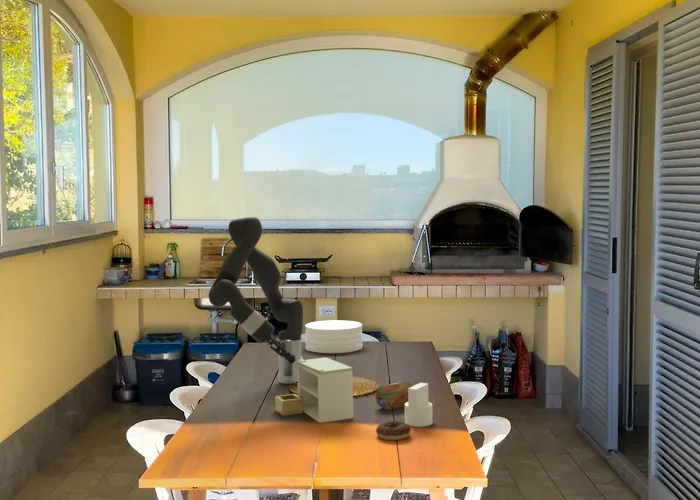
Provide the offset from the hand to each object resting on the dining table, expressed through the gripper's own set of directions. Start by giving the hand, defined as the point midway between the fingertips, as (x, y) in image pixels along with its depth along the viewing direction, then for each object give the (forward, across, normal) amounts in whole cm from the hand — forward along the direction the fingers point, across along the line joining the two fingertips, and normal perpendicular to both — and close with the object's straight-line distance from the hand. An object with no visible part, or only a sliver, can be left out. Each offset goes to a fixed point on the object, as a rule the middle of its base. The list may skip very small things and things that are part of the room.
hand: (293, 360), depth 259 cm
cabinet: (+20, -3, +5) cm, 21 cm away
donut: (+34, -31, -8) cm, 47 cm away
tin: (+38, +2, -12) cm, 40 cm away
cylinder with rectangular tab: (+41, -18, -16) cm, 47 cm away
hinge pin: (+2, 0, +5) cm, 5 cm away
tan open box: (+11, 0, +14) cm, 18 cm away
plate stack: (+27, +112, -2) cm, 115 cm away
